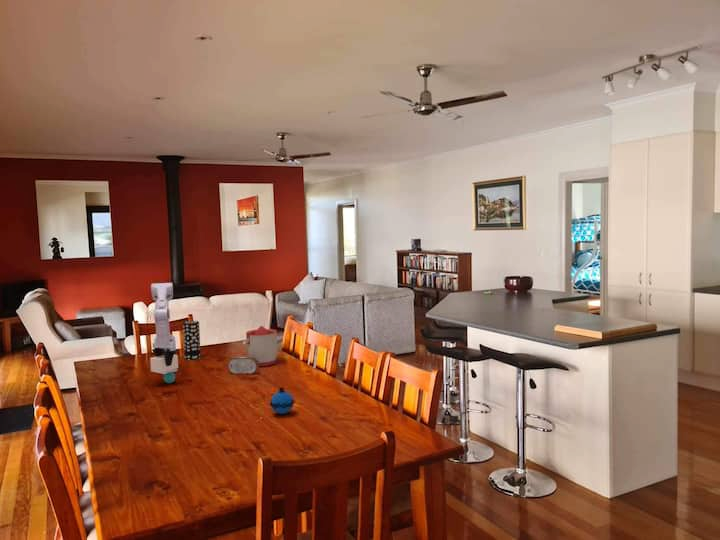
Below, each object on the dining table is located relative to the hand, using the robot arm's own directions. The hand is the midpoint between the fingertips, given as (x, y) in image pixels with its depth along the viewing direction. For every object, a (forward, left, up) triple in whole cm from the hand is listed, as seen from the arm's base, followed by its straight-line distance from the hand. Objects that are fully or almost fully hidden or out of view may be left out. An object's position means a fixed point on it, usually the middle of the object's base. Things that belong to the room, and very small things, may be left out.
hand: (164, 364), depth 239 cm
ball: (0, +2, -6) cm, 7 cm away
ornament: (+73, +1, -9) cm, 74 cm away
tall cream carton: (0, 0, -2) cm, 2 cm away
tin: (+17, +31, -9) cm, 37 cm away
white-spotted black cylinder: (-31, +37, -9) cm, 49 cm away
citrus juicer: (+11, +48, -9) cm, 50 cm away
